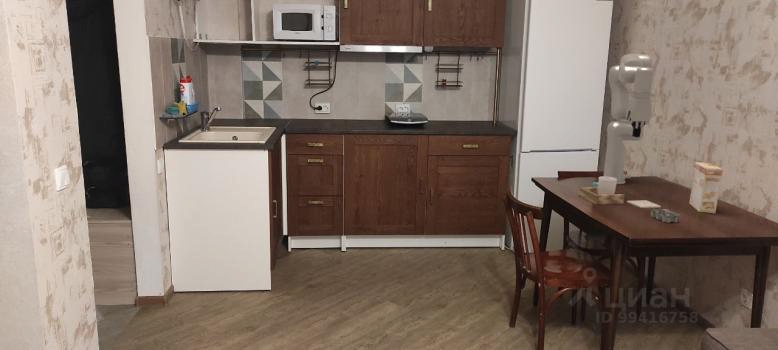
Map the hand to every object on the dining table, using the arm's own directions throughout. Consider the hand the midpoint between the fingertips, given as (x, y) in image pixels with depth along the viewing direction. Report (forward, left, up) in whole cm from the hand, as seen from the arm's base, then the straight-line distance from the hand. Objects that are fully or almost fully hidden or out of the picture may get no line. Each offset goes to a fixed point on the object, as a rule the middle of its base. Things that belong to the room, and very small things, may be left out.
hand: (636, 136), depth 269 cm
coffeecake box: (-25, +18, -29) cm, 43 cm away
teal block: (+8, -11, -29) cm, 32 cm away
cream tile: (-1, +10, -29) cm, 31 cm away
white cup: (+12, 0, -29) cm, 32 cm away
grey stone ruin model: (+5, +31, -30) cm, 43 cm away
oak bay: (+14, 0, -29) cm, 32 cm away
